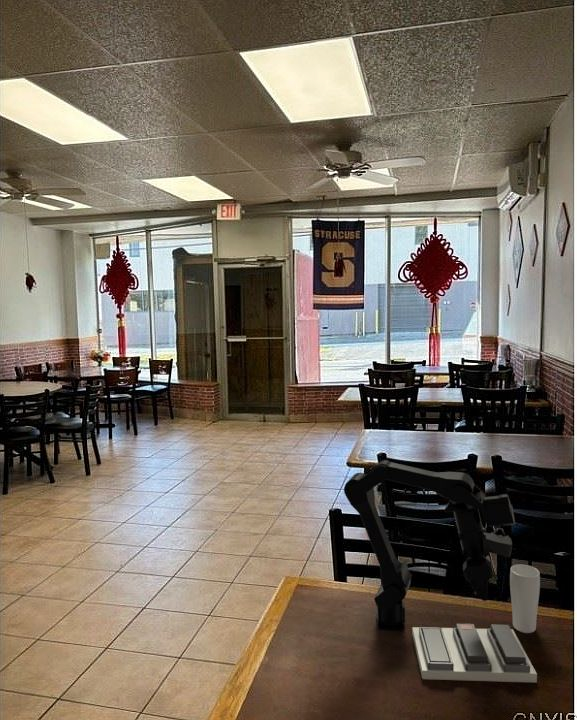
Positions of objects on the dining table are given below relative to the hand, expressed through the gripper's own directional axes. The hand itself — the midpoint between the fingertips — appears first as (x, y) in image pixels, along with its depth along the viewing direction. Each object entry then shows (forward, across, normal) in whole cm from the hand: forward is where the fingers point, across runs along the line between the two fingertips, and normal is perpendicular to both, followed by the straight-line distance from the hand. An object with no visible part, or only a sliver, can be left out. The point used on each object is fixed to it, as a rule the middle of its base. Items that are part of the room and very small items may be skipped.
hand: (484, 590), depth 130 cm
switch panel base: (+12, -6, +6) cm, 15 cm away
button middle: (+9, -8, +5) cm, 13 cm away
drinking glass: (+15, +8, -7) cm, 18 cm away
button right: (+10, -6, -3) cm, 12 cm away
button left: (+8, -9, +13) cm, 18 cm away
